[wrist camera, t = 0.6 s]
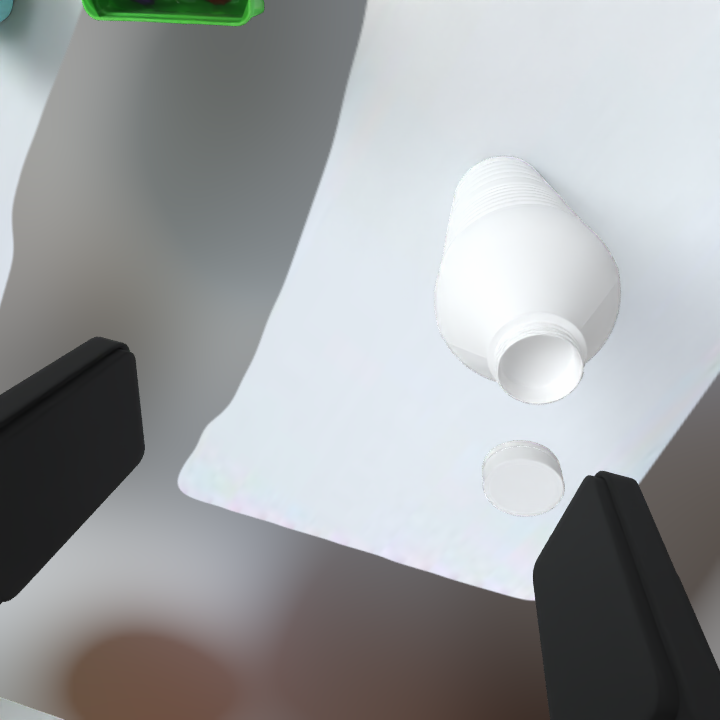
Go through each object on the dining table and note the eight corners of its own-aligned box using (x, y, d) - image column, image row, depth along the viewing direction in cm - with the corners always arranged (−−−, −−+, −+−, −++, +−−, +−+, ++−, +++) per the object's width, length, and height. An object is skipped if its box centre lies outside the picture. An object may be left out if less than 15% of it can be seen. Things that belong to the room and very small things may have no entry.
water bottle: (454, 157, 33) (419, 255, 12) (550, 152, 32) (713, 255, 10) (450, 274, 37) (419, 506, 16) (535, 275, 36) (628, 530, 14)
